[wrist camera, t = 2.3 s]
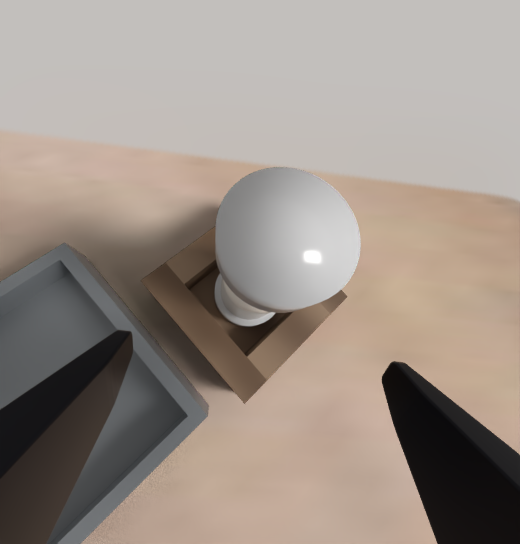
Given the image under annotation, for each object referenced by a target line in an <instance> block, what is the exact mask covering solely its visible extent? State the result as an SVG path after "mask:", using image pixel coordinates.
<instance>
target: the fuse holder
mask: <svg viewBox="0 0 520 544" xmlns="http://www.w3.org/2000/svg"><path fill="white" fill-rule="evenodd" d="M215 236H216V226H215V227H214V228H212V229H211V230H210V231H208V232H207V233H205V234H204V235H203V236H201V237H200V238H199V239H197V240H196V241H194V242H193V243H192V244H190V245H189V246H187V247H186V248H185V249H183V250H182V251H181V252H179V253H178V254H176V255H175V256H174V257H172V258H171V259H170V260H168V261H167V262H165V263H164V264H163V265H161V266H160V267H159V268H157V269H156V270H154V271H153V272H152V273H150V274H149V275H148V276H146V277H145V278H143V279H142V280H141V282H142V283H143V284H144V285H145V287H146V288H147V289H148V290H149V291H150V293H151V294H152V295H153V296H154V297H155V298H156V300H157V301H158V302H159V303H160V304H161V306H162V307H163V308H164V309H165V310H166V311H167V313H168V314H169V315H170V316H171V317H172V319H173V320H174V321H175V322H176V323H177V324H178V326H179V327H180V328H181V329H182V330H183V332H184V333H185V334H186V335H187V336H188V337H189V339H190V340H191V341H192V342H193V343H194V345H195V346H196V347H197V348H198V349H199V351H200V352H201V353H202V354H203V355H204V356H205V358H206V359H207V360H208V361H209V362H210V364H211V365H212V366H213V367H214V368H215V369H216V371H217V372H218V373H219V374H220V375H221V377H222V378H223V379H224V380H225V381H226V382H227V384H228V385H229V386H230V387H231V388H232V390H233V391H234V392H235V393H236V394H237V395H238V397H239V398H240V399H241V400H242V401H243V403H244V404H245V403H246V402H247V401H248V400H249V399H250V398H251V397H252V395H253V394H254V393H255V392H256V391H257V390H258V389H259V388H260V387H261V386H262V385H263V384H264V383H265V382H266V381H267V380H268V379H269V378H270V377H271V376H272V375H273V374H274V373H275V372H276V370H277V369H278V368H279V367H280V366H281V365H282V364H283V363H284V362H285V361H286V360H287V359H288V358H289V357H290V356H291V355H292V354H293V353H294V352H295V351H296V350H297V349H298V348H299V347H300V346H301V344H302V343H303V342H304V341H305V340H306V339H307V338H308V337H309V336H310V335H311V334H312V333H313V332H314V331H315V330H316V329H317V328H318V327H319V326H320V325H321V324H322V323H323V322H324V321H325V319H326V318H327V317H328V316H329V315H330V314H331V313H332V312H333V311H334V310H335V309H336V308H337V307H338V306H339V305H340V304H341V303H342V302H343V301H344V300H345V299H346V298H347V296H346V294H345V293H344V292H343V291H342V290H340V291H339V292H338V293H336V294H335V295H333V296H332V297H330V298H329V299H326V300H324V301H322V302H320V303H317V304H314V305H311V306H309V307H306V308H303V309H300V310H297V311H293V312H287V313H275V314H274V315H273V316H272V317H271V318H270V319H269V320H267V321H266V322H264V323H261V324H259V325H256V326H252V327H240V326H236V325H234V324H232V323H230V322H228V321H227V320H226V319H225V318H224V317H223V316H222V315H221V314H220V312H219V311H218V309H217V306H216V303H215V284H216V280H217V278H218V276H219V274H220V271H219V269H218V265H217V261H216V254H215Z"/></svg>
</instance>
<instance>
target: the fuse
mask: <svg viewBox="0 0 520 544" xmlns="http://www.w3.org/2000/svg"><path fill="white" fill-rule="evenodd" d="M215 254H216V261H217V265H218V269H219V271H220V274H219V276H218V278H217V280H216V284H215V303H216V306H217V309H218V311H219V312H220V314H221V315H222V316H223V317H224V318H225V319H226V320H227V321H228V322H230V323H232V324H234V325H236V326H240V327H252V326H256V325H259V324H261V323H264V322H266V321H267V320H269V319H270V318H271V317H272V316H273V315H274V314H275V313H287V312H293V311H297V310H300V309H303V308H306V307H309V306H311V305H314V304H317V303H320V302H322V301H324V300H326V299H329V298H330V297H332V296H333V295H335V294H336V293H338V292H339V291H340V290H341V289H342V288H343V287H344V286H345V285H346V284H347V282H348V281H349V280H350V278H351V277H352V275H353V273H354V271H355V269H356V267H357V264H358V260H359V255H360V233H359V228H358V224H357V221H356V219H355V216H354V214H353V212H352V210H351V208H350V206H349V205H348V203H347V202H346V200H345V199H344V198H343V197H342V196H341V194H340V193H339V192H338V191H337V190H336V189H335V188H334V187H332V186H331V185H330V184H328V183H327V182H326V181H324V180H323V179H321V178H319V177H318V176H316V175H313V174H311V173H309V172H306V171H303V170H299V169H295V168H287V167H273V168H266V169H262V170H259V171H256V172H253V173H251V174H249V175H247V176H245V177H244V178H242V179H241V180H240V181H238V182H237V183H236V184H235V185H234V186H233V187H232V188H231V189H230V190H229V191H228V193H227V194H226V196H225V197H224V199H223V201H222V203H221V205H220V207H219V211H218V214H217V219H216V236H215Z"/></svg>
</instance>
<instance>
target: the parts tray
mask: <svg viewBox="0 0 520 544" xmlns="http://www.w3.org/2000/svg"><path fill="white" fill-rule="evenodd" d="M117 330H126V331H131V332H132V336H133V354H132V358H131V361H130V363H129V366H128V369H127V372H126V374H125V377H124V380H123V383H122V385H121V388H120V391H119V394H118V396H117V399H116V401H115V404H114V406H113V408H112V411H111V413H110V415H109V417H108V419H107V421H106V423H105V425H104V427H103V429H102V431H101V433H100V435H99V437H98V439H97V441H96V443H95V445H94V447H93V449H92V451H91V454H90V456H89V458H88V460H87V462H86V464H85V466H84V468H83V470H82V472H81V474H80V476H79V478H78V480H77V482H76V484H75V486H74V488H73V490H72V492H71V494H70V496H69V498H68V500H67V502H66V504H65V506H64V509H63V511H62V513H61V515H60V517H59V519H58V521H57V523H56V525H55V527H54V529H53V531H52V533H51V535H50V537H49V539H48V541H47V543H46V544H81V543H82V542H83V541H84V540H85V539H86V538H87V537H88V536H89V535H90V534H91V533H92V532H93V531H94V530H95V529H96V527H97V526H98V525H99V524H100V523H101V522H102V521H103V520H104V519H105V518H106V517H107V516H108V515H109V514H110V513H111V512H112V511H113V510H114V509H115V508H116V507H117V506H118V505H119V504H120V503H121V502H122V501H123V500H124V499H125V498H126V497H127V496H128V495H129V494H130V493H131V492H132V491H133V490H134V489H135V488H136V487H137V486H138V485H139V484H140V483H141V482H142V481H143V480H144V479H145V478H146V477H147V476H148V475H149V474H150V473H151V472H152V471H153V470H154V469H155V468H156V467H157V466H158V465H159V464H160V463H161V462H162V461H163V460H164V459H165V458H166V457H167V456H168V455H169V454H170V453H171V452H172V451H173V450H174V449H175V448H176V447H177V446H178V445H179V444H180V443H181V442H182V441H183V440H184V439H185V438H186V437H187V436H188V435H189V434H190V433H191V432H192V431H193V430H194V429H195V428H196V427H197V426H198V425H199V424H200V423H201V422H202V421H203V420H204V419H205V418H206V417H207V416H208V407H209V405H208V403H207V402H206V401H205V400H204V399H203V397H202V396H201V395H200V394H199V393H198V391H197V390H196V389H195V388H194V386H193V385H192V384H191V383H190V382H189V380H188V379H187V378H186V377H185V376H184V374H183V373H182V372H181V371H180V370H179V368H178V367H177V366H176V365H175V364H174V362H173V361H172V360H171V359H170V358H169V356H168V355H167V354H166V353H165V352H164V350H163V349H162V348H161V347H160V346H159V344H158V343H157V342H156V341H155V340H154V338H153V337H152V336H151V335H150V334H149V332H148V331H147V330H146V329H145V327H144V326H143V325H142V324H141V323H140V321H139V320H138V319H137V318H136V317H135V315H134V314H133V313H132V312H131V311H130V309H129V308H128V307H127V306H126V305H125V303H124V302H123V301H122V300H121V299H120V297H119V296H118V295H117V294H116V293H115V291H114V290H113V289H112V288H111V287H110V285H109V284H108V283H107V282H106V281H105V279H104V278H103V277H102V276H101V274H100V273H99V272H98V271H97V270H96V268H95V267H94V266H93V265H92V264H91V262H90V261H89V260H88V259H87V258H86V256H84V255H83V254H81V253H80V252H78V251H77V250H75V249H73V248H72V247H70V246H69V245H67V244H66V243H63V244H61V245H60V246H58V247H57V248H55V249H53V250H52V251H50V252H48V253H47V254H45V255H43V256H42V257H40V258H39V259H37V260H35V261H34V262H32V263H30V264H29V265H27V266H25V267H24V268H22V269H21V270H19V271H17V272H16V273H14V274H12V275H11V276H9V277H8V278H6V279H4V280H3V281H1V282H0V409H1V408H3V407H4V406H6V405H7V404H9V403H10V402H12V401H13V400H15V399H16V398H18V397H19V396H21V395H22V394H23V393H25V392H26V391H28V390H29V389H31V388H32V387H34V386H35V385H37V384H38V383H40V382H41V381H43V380H44V379H46V378H47V377H49V376H50V375H51V374H53V373H54V372H56V371H57V370H59V369H60V368H62V367H63V366H65V365H66V364H68V363H69V362H71V361H72V360H74V359H75V358H76V357H78V356H79V355H81V354H82V353H84V352H85V351H87V350H88V349H90V348H91V347H93V346H94V345H96V344H97V343H99V342H100V341H101V340H103V339H104V338H106V337H107V336H109V335H110V334H112V333H113V332H115V331H117Z"/></svg>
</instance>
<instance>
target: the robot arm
mask: <svg viewBox="0 0 520 544" xmlns="http://www.w3.org/2000/svg"><path fill="white" fill-rule="evenodd" d="M132 354H133V336H132V332H131V331H126V330H117V331H115V332H113V333H112V334H110V335H109V336H107V337H106V338H104V339H103V340H101V341H100V342H99V343H97V344H96V345H94V346H93V347H91V348H90V349H88V350H87V351H85V352H84V353H82V354H81V355H79V356H78V357H76V358H75V359H74V360H72V361H71V362H69V363H68V364H66V365H65V366H63V367H62V368H60V369H59V370H57V371H56V372H54V373H53V374H51V375H50V376H49V377H47V378H46V379H44V380H43V381H41V382H40V383H38V384H37V385H35V386H34V387H32V388H31V389H29V390H28V391H26V392H25V393H23V394H22V395H21V396H19V397H18V398H16V399H15V400H13V401H12V402H10V403H9V404H7V405H6V406H4V407H3V408H1V409H0V544H46V543H47V541H48V539H49V537H50V535H51V533H52V531H53V529H54V527H55V525H56V523H57V521H58V519H59V517H60V515H61V513H62V511H63V509H64V506H65V504H66V502H67V500H68V498H69V496H70V494H71V492H72V490H73V488H74V486H75V484H76V482H77V480H78V478H79V476H80V474H81V472H82V470H83V468H84V466H85V464H86V462H87V460H88V458H89V456H90V454H91V451H92V449H93V447H94V445H95V443H96V441H97V439H98V437H99V435H100V433H101V431H102V429H103V427H104V425H105V423H106V421H107V419H108V417H109V415H110V413H111V411H112V408H113V406H114V404H115V401H116V399H117V396H118V394H119V391H120V388H121V385H122V383H123V380H124V377H125V374H126V372H127V369H128V366H129V363H130V361H131V358H132ZM382 384H383V388H384V392H385V395H386V399H387V403H388V406H389V410H390V414H391V417H392V421H393V424H394V427H395V430H396V433H397V436H398V438H399V441H400V444H401V447H402V449H403V452H404V455H405V457H406V460H407V463H408V465H409V468H410V471H411V473H412V476H413V479H414V482H415V484H416V487H417V490H418V492H419V495H420V498H421V500H422V503H423V506H424V509H425V511H426V514H427V517H428V519H429V522H430V525H431V527H432V530H433V533H434V535H435V538H436V541H437V544H520V455H519V454H518V453H517V452H516V451H515V450H513V449H512V448H511V447H510V446H508V445H507V444H506V443H505V442H503V441H502V440H501V439H500V438H498V437H497V436H496V435H495V434H493V433H492V432H491V431H490V430H488V429H487V428H486V427H485V426H483V425H482V424H481V423H480V422H478V421H477V420H476V419H475V418H473V417H472V416H471V415H470V414H468V413H467V412H466V411H464V410H463V409H462V408H461V407H459V406H458V405H457V404H456V403H454V402H453V401H452V400H451V399H449V398H448V397H447V396H446V395H444V394H443V393H442V392H441V391H439V390H438V389H437V388H436V387H434V386H433V385H432V384H431V383H429V382H428V381H427V380H426V379H424V378H423V377H422V376H421V375H419V374H418V373H417V372H416V371H414V370H413V369H412V368H411V367H409V366H408V365H407V364H405V363H403V362H396V361H394V362H391V363H390V365H389V366H388V368H387V369H386V371H385V373H384V374H383V376H382Z"/></svg>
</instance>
